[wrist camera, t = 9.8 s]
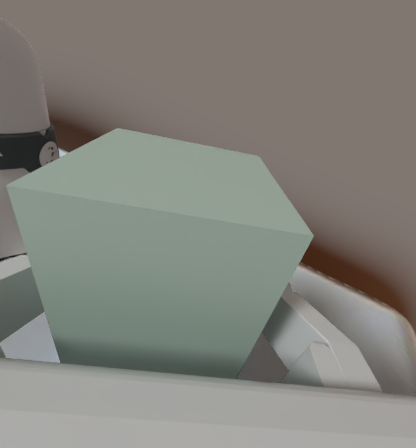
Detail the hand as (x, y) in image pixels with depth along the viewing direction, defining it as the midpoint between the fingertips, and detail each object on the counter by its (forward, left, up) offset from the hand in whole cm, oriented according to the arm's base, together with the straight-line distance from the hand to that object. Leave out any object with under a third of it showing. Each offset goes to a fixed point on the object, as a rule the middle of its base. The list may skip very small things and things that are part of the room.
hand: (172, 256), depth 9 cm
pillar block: (0, -1, -6) cm, 6 cm away
